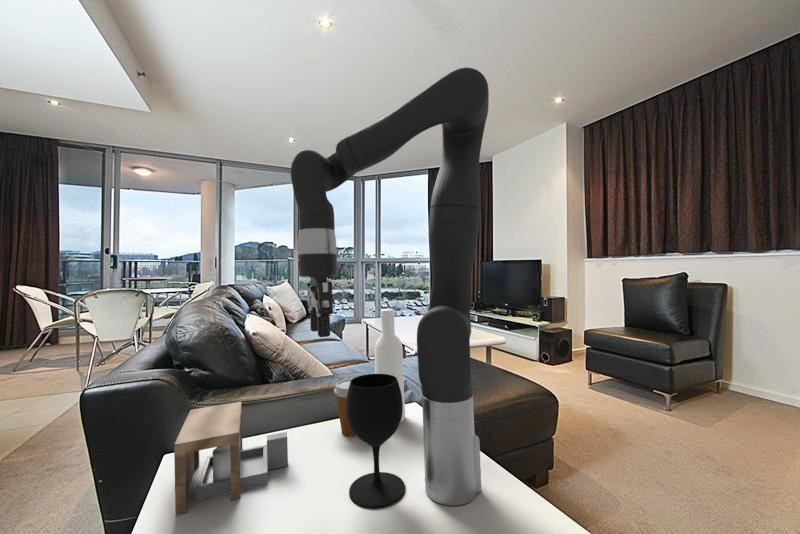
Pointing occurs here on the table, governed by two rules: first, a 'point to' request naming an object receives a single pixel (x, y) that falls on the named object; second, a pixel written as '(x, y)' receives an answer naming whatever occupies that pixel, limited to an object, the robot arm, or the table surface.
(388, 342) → the bottle
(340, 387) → the disposable coffee cup
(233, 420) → the small wooden table
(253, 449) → the tray
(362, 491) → the wine glass
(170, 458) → the table surface
